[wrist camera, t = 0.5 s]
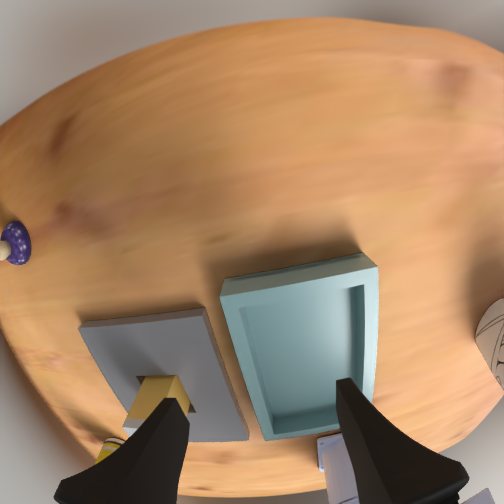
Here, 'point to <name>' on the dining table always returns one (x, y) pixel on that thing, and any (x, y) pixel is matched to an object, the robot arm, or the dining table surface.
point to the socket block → (170, 366)
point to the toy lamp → (15, 244)
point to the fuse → (154, 399)
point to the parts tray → (304, 339)
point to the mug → (493, 339)
